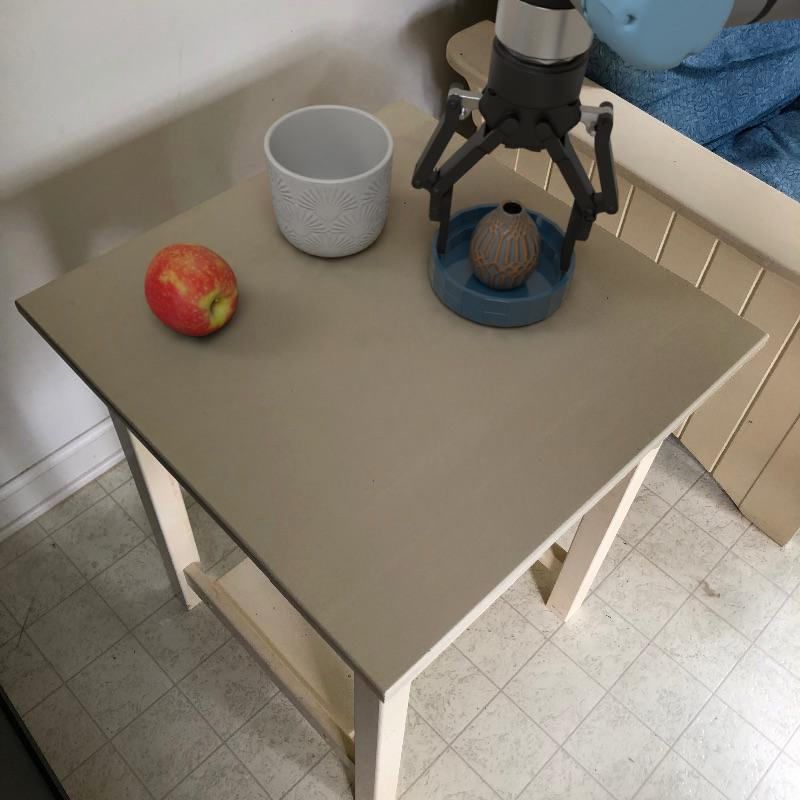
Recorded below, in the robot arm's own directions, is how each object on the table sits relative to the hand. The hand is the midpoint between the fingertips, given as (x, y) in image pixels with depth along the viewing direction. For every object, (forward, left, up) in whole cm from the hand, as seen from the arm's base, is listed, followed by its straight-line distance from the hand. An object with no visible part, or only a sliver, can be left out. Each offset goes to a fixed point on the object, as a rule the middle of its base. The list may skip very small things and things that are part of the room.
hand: (502, 253), depth 81 cm
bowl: (0, 0, -4) cm, 4 cm away
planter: (+4, +18, -4) cm, 19 cm away
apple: (-11, +28, -4) cm, 30 cm away
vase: (0, 0, -3) cm, 3 cm away
